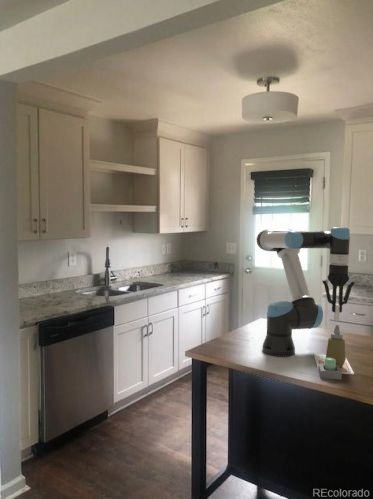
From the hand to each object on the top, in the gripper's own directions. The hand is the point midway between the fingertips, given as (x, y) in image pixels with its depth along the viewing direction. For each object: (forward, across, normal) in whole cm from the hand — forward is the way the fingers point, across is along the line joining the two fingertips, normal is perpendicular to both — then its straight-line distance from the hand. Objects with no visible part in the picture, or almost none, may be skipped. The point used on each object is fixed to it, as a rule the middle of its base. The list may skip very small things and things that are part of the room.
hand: (336, 319), depth 178 cm
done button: (+20, -3, -8) cm, 21 cm away
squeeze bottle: (+21, 0, +1) cm, 21 cm away
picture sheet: (+21, 0, +5) cm, 22 cm away
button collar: (+21, -3, -8) cm, 23 cm away
